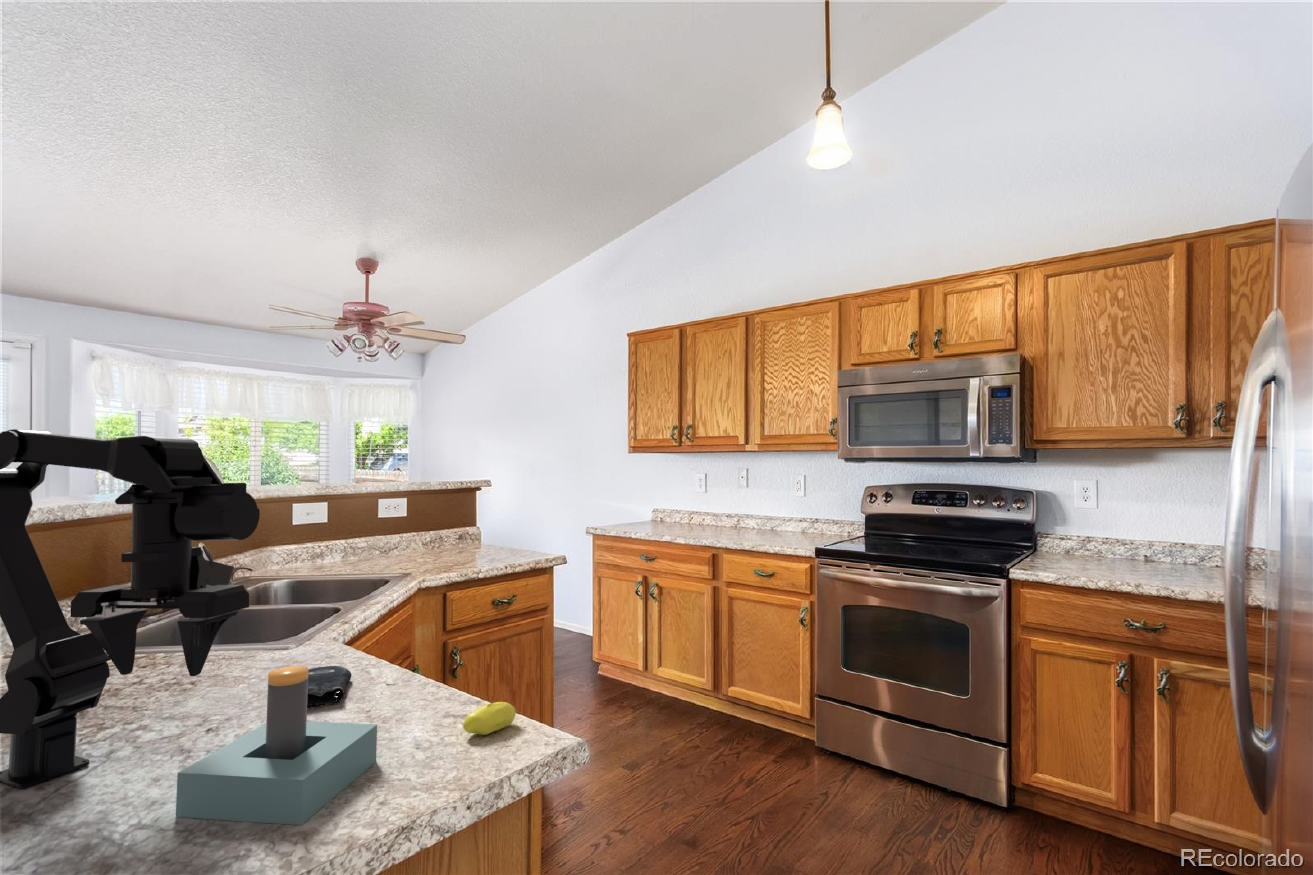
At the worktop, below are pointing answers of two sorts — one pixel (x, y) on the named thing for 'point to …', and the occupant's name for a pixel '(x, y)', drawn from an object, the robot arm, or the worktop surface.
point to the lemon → (489, 718)
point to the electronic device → (327, 682)
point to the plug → (286, 712)
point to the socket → (276, 776)
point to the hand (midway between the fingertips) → (160, 674)
